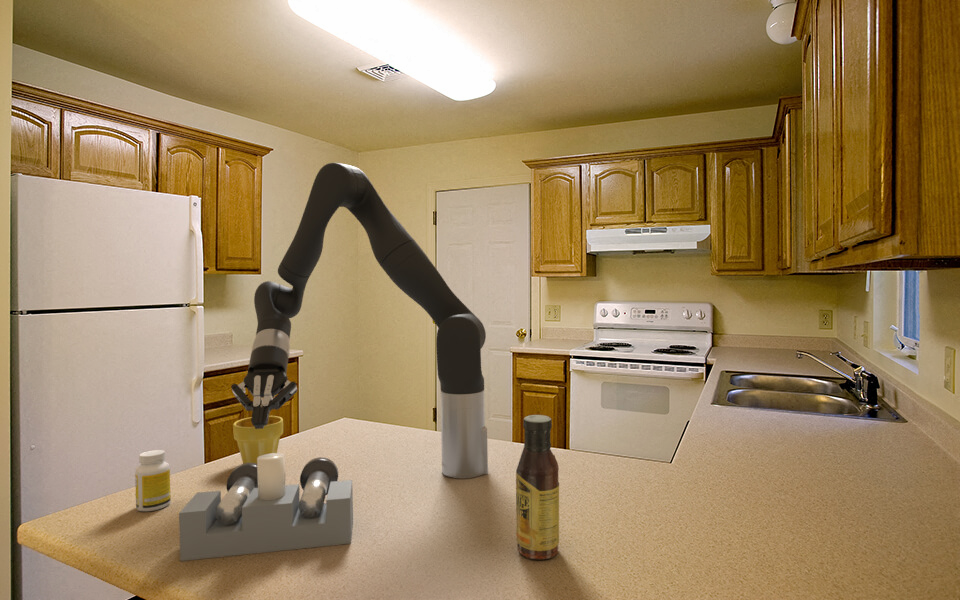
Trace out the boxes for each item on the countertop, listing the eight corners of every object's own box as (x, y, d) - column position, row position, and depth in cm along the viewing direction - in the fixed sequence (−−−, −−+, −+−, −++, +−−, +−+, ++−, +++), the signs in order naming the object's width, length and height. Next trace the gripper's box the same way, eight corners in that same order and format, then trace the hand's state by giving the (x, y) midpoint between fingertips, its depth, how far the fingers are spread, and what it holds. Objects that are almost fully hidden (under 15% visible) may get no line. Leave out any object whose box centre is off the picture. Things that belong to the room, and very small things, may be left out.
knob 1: (268, 497, 95) (267, 461, 95) (250, 531, 82) (249, 490, 81) (230, 500, 94) (229, 464, 94) (205, 536, 80) (203, 493, 80)
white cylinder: (287, 489, 86) (286, 452, 86) (283, 498, 82) (282, 459, 82) (261, 491, 86) (260, 454, 85) (255, 501, 82) (254, 461, 82)
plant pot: (266, 473, 115) (265, 427, 115) (223, 470, 117) (222, 425, 117) (292, 457, 126) (291, 416, 125) (253, 455, 128) (252, 414, 127)
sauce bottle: (513, 543, 82) (511, 412, 81) (554, 540, 82) (552, 411, 82) (520, 565, 75) (518, 423, 75) (564, 562, 76) (562, 421, 75)
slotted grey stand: (353, 521, 90) (352, 479, 90) (351, 543, 82) (350, 498, 82) (198, 536, 86) (197, 492, 86) (180, 561, 78) (178, 513, 78)
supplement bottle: (177, 502, 100) (176, 449, 100) (151, 514, 95) (149, 458, 95) (155, 499, 102) (154, 447, 101) (128, 510, 97) (127, 456, 96)
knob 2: (338, 491, 98) (338, 456, 97) (332, 524, 84) (331, 483, 84) (301, 494, 96) (301, 458, 96) (289, 528, 83) (288, 486, 82)
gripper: (233, 345, 111) (217, 418, 100) (300, 343, 114) (292, 414, 102) (240, 367, 117) (226, 438, 105) (304, 364, 119) (297, 434, 107)
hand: (258, 426), depth 103 cm, fingers closed
